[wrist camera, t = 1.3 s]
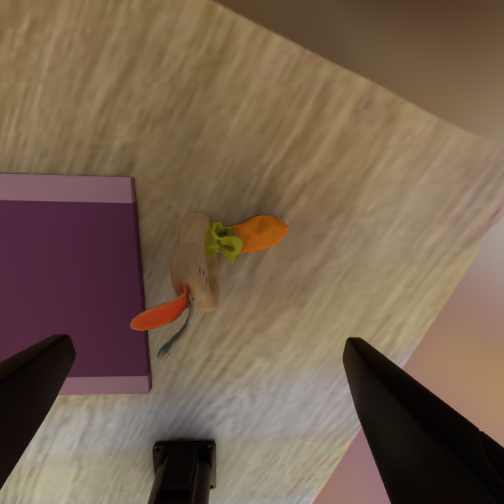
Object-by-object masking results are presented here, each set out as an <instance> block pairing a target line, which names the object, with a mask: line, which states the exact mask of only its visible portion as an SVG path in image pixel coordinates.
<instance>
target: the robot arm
mask: <svg viewBox="0 0 504 504" xmlns="http://www.w3.org/2000/svg"><path fill="white" fill-rule="evenodd" d="M75 359H76V351H75V348H74V345H73V342H72V339H71V337H70V336H69V335H68V334H54V335H51V336H49V337H48V338H46V339H44V340H42V341H40V342H38V343H36V344H34V345H32V346H30V347H28V348H26V349H24V350H22V351H20V352H19V353H17V354H15V355H13V356H11V357H9V358H7V359H5V360H3V361H1V362H0V490H1V488H2V486H3V485H4V483H5V482H6V480H7V478H8V477H9V475H10V474H11V472H12V470H13V469H14V467H15V465H16V464H17V462H18V461H19V459H20V457H21V456H22V454H23V453H24V451H25V449H26V448H27V446H28V445H29V443H30V441H31V440H32V438H33V437H34V435H35V433H36V432H37V430H38V429H39V427H40V425H41V424H42V422H43V421H44V419H45V417H46V416H47V414H48V412H49V411H50V409H51V407H52V405H53V403H54V401H55V399H56V397H57V395H58V393H59V392H60V390H61V388H62V386H63V384H64V382H65V380H66V378H67V376H68V374H69V372H70V370H71V368H72V366H73V364H74V362H75ZM343 364H344V368H345V372H346V376H347V379H348V383H349V387H350V390H351V394H352V398H353V402H354V405H355V409H356V412H357V415H358V418H359V420H360V423H361V426H362V428H363V431H364V434H365V436H366V439H367V442H368V444H369V446H370V449H371V452H372V455H373V457H374V460H375V463H376V465H377V468H378V471H379V473H380V476H381V479H382V481H383V484H384V487H385V489H386V492H387V495H388V497H389V500H390V502H391V504H504V448H503V447H502V446H501V445H500V444H498V443H497V442H496V441H494V440H493V439H492V438H491V437H489V436H488V435H487V434H485V433H484V432H483V431H480V430H479V429H478V428H477V427H476V426H475V425H474V424H472V423H471V422H470V421H468V420H467V419H466V418H464V417H463V416H462V415H461V414H459V413H458V412H457V411H455V410H454V409H453V408H452V407H450V406H449V405H448V404H446V403H445V402H444V401H442V400H441V399H440V398H439V397H437V396H436V395H435V394H433V393H432V392H431V391H429V390H428V389H427V388H426V387H424V386H423V385H421V384H420V383H419V382H418V381H416V380H415V379H414V378H413V377H411V376H410V375H409V374H407V373H406V372H405V371H403V370H402V369H401V368H400V367H398V366H397V365H396V364H394V363H393V362H392V361H391V360H389V359H388V358H387V357H385V356H384V355H383V354H381V353H380V352H379V351H378V350H376V349H375V348H374V347H372V346H371V345H370V344H368V343H367V342H366V341H365V340H363V339H362V338H359V337H349V338H347V340H346V344H345V348H344V353H343ZM153 459H154V471H155V479H154V483H153V486H152V490H151V493H150V496H149V500H148V503H147V504H208V503H209V493H210V490H214V489H215V488H216V443H215V442H214V441H183V442H157V443H155V444H154V447H153Z"/></svg>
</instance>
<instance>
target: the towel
mask: <svg viewBox="0 0 504 504" xmlns="http://www.w3.org/2000/svg"><path fill="white" fill-rule="evenodd" d="M143 311H145V301H144V290H143V278H142V266H141V254H140V242H139V230H138V219H137V207H136V195H135V183H134V178H133V177H115V176H82V175H49V174H16V173H0V362H1V361H3V360H5V359H7V358H9V357H11V356H13V355H15V354H17V353H19V352H20V351H22V350H24V349H26V348H28V347H30V346H32V345H34V344H36V343H38V342H40V341H42V340H44V339H46V338H48V337H49V336H51V335H54V334H68V335H69V336H70V337H71V339H72V342H73V345H74V348H75V351H76V359H75V362H74V364H73V366H72V368H71V370H70V372H69V374H68V376H67V378H66V380H65V382H64V384H63V386H62V388H61V390H60V392H59V393H58V395H88V394H145V393H149V392H150V390H151V388H152V383H151V372H150V360H149V349H148V337H147V330H145V331H138V330H133V329H132V328H131V327H130V323H131V321H132V319H133V318H135V317H136V316H137V315H139V314H140V313H141V312H143Z"/></svg>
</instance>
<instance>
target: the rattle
mask: <svg viewBox="0 0 504 504" xmlns="http://www.w3.org/2000/svg"><path fill="white" fill-rule="evenodd" d="M287 227H288V226H287V225H286V224H285V223H283V222H282V221H281V220H280V219H279V218H277V217H274V216H268V215H260V216H256V217H254V218H252V219H250V220H248V221H246V222H245V223H242V224H237V225H233V226H230V227H226V226H225V227H223V226H222V224H221V223H219V222H214V223H213V222H212V221H210V220H209V218H208V217H207V215H206V214H205V213H203V212H191V213H188V214H186V215H185V216H184V217H183V219H182V221H181V224H180V228H179V234H178V245H177V250H176V251H175V252H174V254H173V257H172V262H171V279H172V285H173V288H174V291H175V293H176V295H177V297H178V298H176V299H174V300H172V301H168V302H166V303H163V304H161V305H159V306H155V307H152V308H150V309H148V310H145V311H143V312H141V313H140V314H139V315H137V316H136V317H135V318H133V319H132V321H131V323H130V327H131V328H132V329H133V330H138V331H145V330H149V329H155V328H159V327H161V326H165V325H167V324H168V323H171V322H173V321H174V320H176V319H177V318H178V317H179V316H180V315H181V314H182V312H183V311H184V310H185V309H186V308H188V307H190V308H189V316H188V318H187V320H186V322H185V324H184V325H183V327H182V328H181V329H180V331H179V332H178V333H176V334H175V335H174V336H173V337H172V338H171V339H170V340H169V341H168V342H167V343H165V344H164V345H163V346H162V347H161V349H160V351H159V352H158V354H157V357H158V361H159V360H162V359H164V358H165V357H166V356H167V355H169V354H170V353H171V351H172V349H173V348H174V347H175V345H176V344H177V343H178V342H179V341H180V340H181V339H182V338H183V336H184V335H185V333H186V332H187V330H188V327H189V325H190V321H191V318H192V314H193V312H196V313H207V312H210V311H212V310H214V309H215V307H216V305H217V303H218V299H219V291H220V265H219V258H218V253H220V252H222V253H223V254H224V255H225V257H226V258H227V259H228V261H230V262H231V263H234V262H235V260H236V255H237V254H238V253H245V252H248V251H250V252H256V251H261V250H264V249H267V248H269V247H271V246H273V245H275V244H277V243H279V242H280V241H281V240H282V239H283V237H284V236H285V235H286V233H287Z"/></svg>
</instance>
